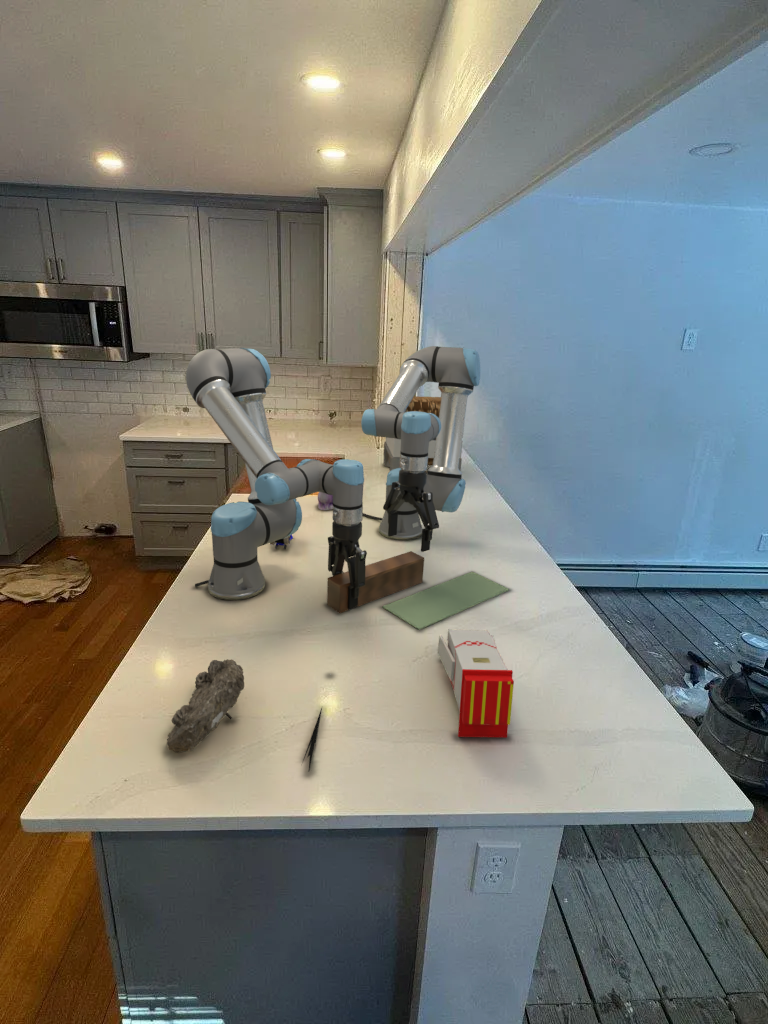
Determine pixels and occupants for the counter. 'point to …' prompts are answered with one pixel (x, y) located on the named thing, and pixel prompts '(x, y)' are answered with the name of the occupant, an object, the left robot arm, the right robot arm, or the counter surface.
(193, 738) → the fossil
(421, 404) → the grey slatted box
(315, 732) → the feather
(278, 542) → the figurine character
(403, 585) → the walnut box
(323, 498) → the figurine
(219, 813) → the counter surface
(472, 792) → the counter surface
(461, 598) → the mat
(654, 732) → the counter surface
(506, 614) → the counter surface
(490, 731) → the toy
